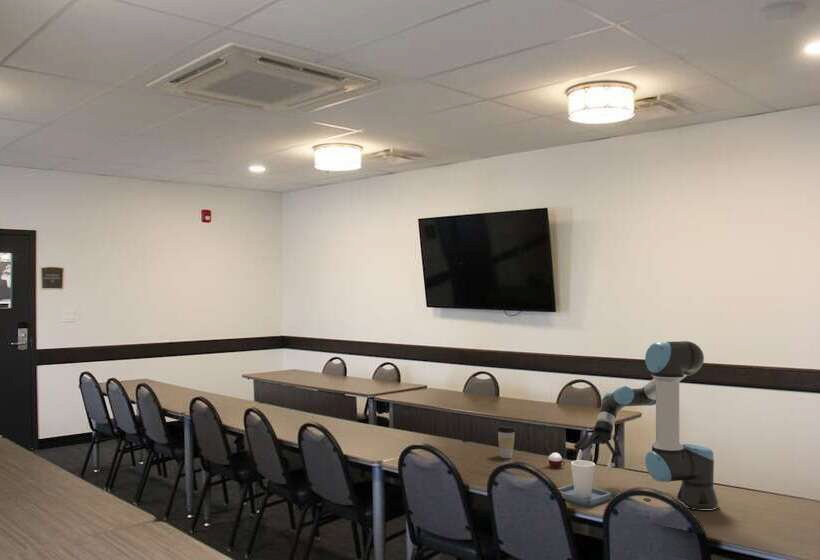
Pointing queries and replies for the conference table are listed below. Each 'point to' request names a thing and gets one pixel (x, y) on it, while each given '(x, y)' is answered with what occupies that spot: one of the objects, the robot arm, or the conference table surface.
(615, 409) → the robot arm
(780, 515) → the conference table surface
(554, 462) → the cocoa
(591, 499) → the tray
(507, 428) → the coffee cup
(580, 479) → the foam cup
